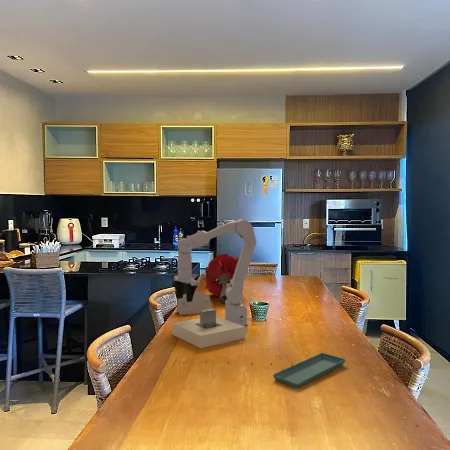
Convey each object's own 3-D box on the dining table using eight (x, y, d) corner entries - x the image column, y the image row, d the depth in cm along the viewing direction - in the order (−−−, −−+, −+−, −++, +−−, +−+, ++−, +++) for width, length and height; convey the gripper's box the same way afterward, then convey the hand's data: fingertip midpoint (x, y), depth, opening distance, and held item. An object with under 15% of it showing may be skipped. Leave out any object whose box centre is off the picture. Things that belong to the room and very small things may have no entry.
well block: (245, 338, 170) (245, 326, 170) (200, 348, 159) (200, 335, 158) (214, 326, 187) (214, 315, 186) (172, 334, 175) (172, 323, 174)
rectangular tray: (297, 391, 125) (297, 382, 125) (271, 381, 131) (271, 373, 131) (346, 367, 143) (346, 359, 143) (321, 359, 150) (321, 352, 150)
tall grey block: (219, 336, 172) (219, 310, 171) (205, 339, 168) (206, 312, 168) (210, 332, 177) (210, 307, 176) (197, 335, 173) (197, 309, 173)
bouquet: (248, 313, 234) (243, 276, 259) (247, 278, 221) (242, 243, 246) (206, 316, 234) (206, 279, 259) (202, 281, 221) (202, 245, 246)
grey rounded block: (178, 314, 205) (176, 292, 207) (176, 315, 209) (174, 294, 212) (213, 312, 210) (211, 290, 213) (211, 313, 214) (209, 292, 217)
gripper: (167, 266, 191) (167, 298, 191) (185, 270, 179) (185, 304, 180) (182, 264, 195) (182, 296, 196) (200, 269, 183) (200, 302, 184)
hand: (184, 300), depth 188 cm, fingers open, 7 cm apart
